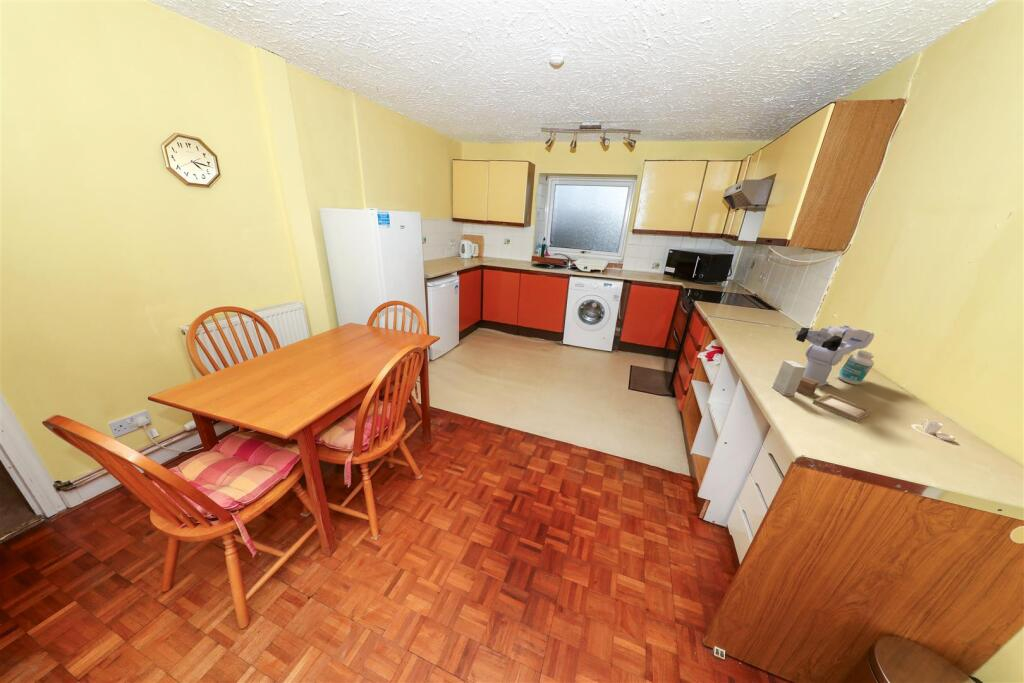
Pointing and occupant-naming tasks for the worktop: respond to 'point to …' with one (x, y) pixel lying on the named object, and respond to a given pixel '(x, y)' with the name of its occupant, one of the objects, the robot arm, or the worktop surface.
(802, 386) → the cube
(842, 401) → the tray
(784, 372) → the skincare box
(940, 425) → the teacup and saucer
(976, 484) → the worktop surface
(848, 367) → the pill bottle
